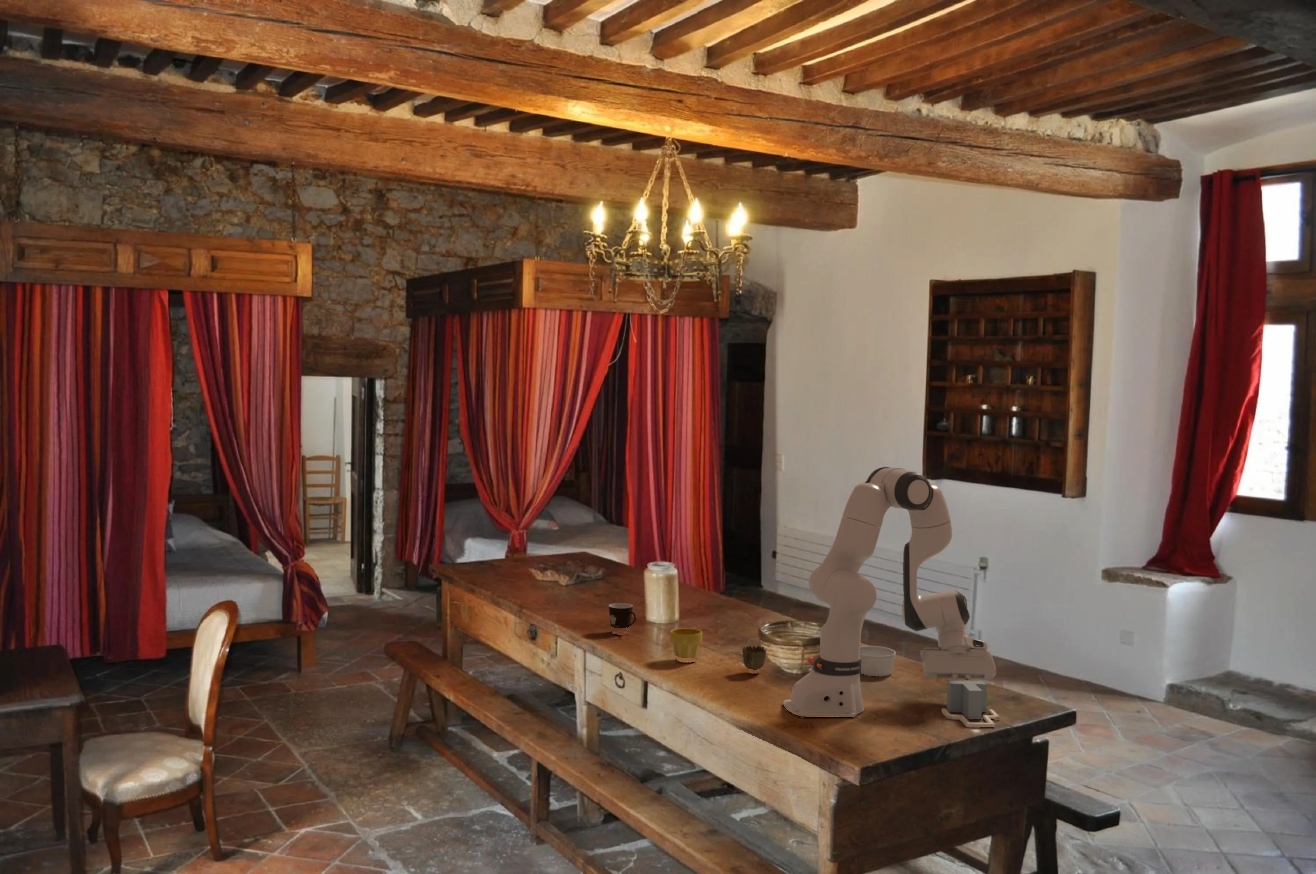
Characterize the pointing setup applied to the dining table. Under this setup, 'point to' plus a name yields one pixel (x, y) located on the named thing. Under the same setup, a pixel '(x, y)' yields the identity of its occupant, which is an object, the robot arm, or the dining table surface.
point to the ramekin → (877, 660)
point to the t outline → (973, 724)
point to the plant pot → (686, 642)
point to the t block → (967, 697)
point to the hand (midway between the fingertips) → (963, 690)
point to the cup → (754, 657)
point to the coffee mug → (621, 615)
